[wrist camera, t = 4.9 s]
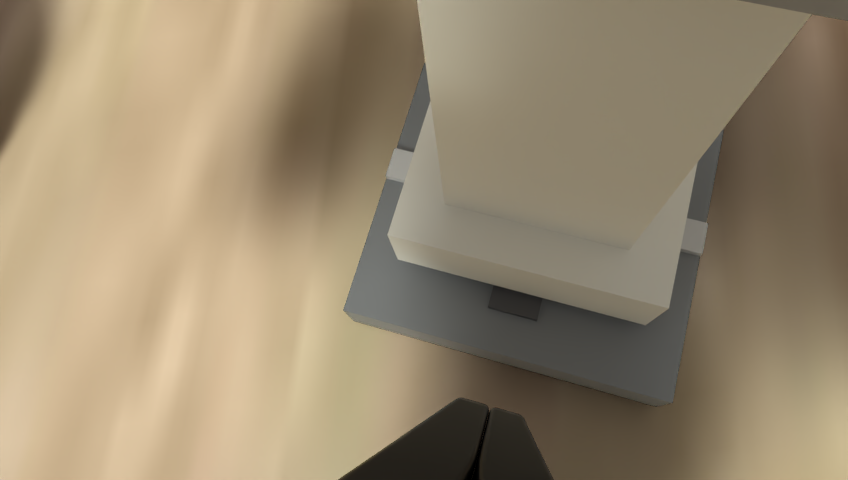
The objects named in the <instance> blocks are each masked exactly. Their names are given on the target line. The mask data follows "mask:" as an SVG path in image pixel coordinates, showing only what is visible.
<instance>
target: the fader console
mask: <svg viewBox="0 0 848 480" xmlns="http://www.w3.org/2000/svg"><path fill="white" fill-rule="evenodd" d="M429 103H430V93H429V86H428V79H427V71H426V64H425V63H424V66H423V69H422V72H421V75H420V78H419V81H418V84H417V87H416V90H415V94H414V97H413V100H412V103H411V106H410V109H409V112H408V115H407V118H406V121H405V124H404V127H403V130H402V133H401V136H400V139H399V142H398V145H397V148H394V151H393V154H392V158H391V161H390V164H389V167H388V170H387V173H386V178H387V179H386V182H385V185H384V188H383V191H382V194H381V197H380V200H379V203H378V206H377V209H376V212H375V215H374V218H373V221H372V224H371V227H370V230H369V233H368V236H367V240H366V243H365V246H364V249H363V252H362V255H361V258H360V261H359V264H358V267H357V270H356V273H355V276H354V279H353V282H352V285H351V288H350V291H349V294H348V297H347V300H346V303H345V306H344V309H343V310H344V311H345V313H346V314H347V315H348V316H349V317H350V318H351V319H352V320H353V321H356V322H359V323H363V324H366V325H370V326H373V327H377V328H380V329H384V330H387V331H391V332H394V333H398V334H401V335H405V336H409V337H412V338H416V339H419V340H423V341H426V342H430V343H433V344H437V345H440V346H444V347H447V348H451V349H454V350H458V351H461V352H465V353H468V354H472V355H475V356H479V357H483V358H486V359H490V360H493V361H497V362H500V363H504V364H507V365H511V366H514V367H518V368H521V369H525V370H528V371H532V372H535V373H539V374H542V375H546V376H550V377H553V378H557V379H560V380H564V381H567V382H571V383H574V384H578V385H581V386H585V387H588V388H592V389H595V390H599V391H602V392H606V393H609V394H613V395H617V396H620V397H624V398H627V399H631V400H634V401H638V402H641V403H645V404H648V405H652V406H655V407H657V406H661V405H666V404H670V403H673V398H674V393H675V387H676V382H677V377H678V371H679V366H680V361H681V355H682V350H683V345H684V339H685V334H686V329H687V323H688V318H689V313H690V307H691V302H692V297H693V291H694V286H695V281H696V275H697V270H698V265H699V259H700V256H701V255H702V254H703V250H704V245H705V239H706V234H707V229H708V223H706V222H707V217H708V212H709V206H710V201H711V196H712V190H713V185H714V180H715V174H716V169H717V164H718V158H719V153H720V148H721V142H722V137H723V132H724V129H723V130H722V131H721V132H720V134H719V135H718V136H717V138H716V139H715V140H714V142H713V143H712V144H711V145H710V147H709V148H708V149H707V151H706V152H705V153H704V154H703V156H702V157H701V158H700V160H699V161H698V163H697V168H696V173H695V179H694V184H693V189H692V194H691V199H690V204H689V209H688V214H687V219H686V224H685V229H684V234H683V240H682V245H681V250H680V255H679V260H678V265H677V270H676V275H675V280H674V285H673V290H672V296H671V301H670V306H669V309H667V310H666V311H665V312H663V313H662V314H661V315H659V316H658V317H656V318H655V319H654V320H652V321H651V322H649V323H648V324H647V325H642V324H639V323H635V322H631V321H627V320H623V319H620V318H616V317H612V316H608V315H605V314H601V313H597V312H593V311H590V310H586V309H582V308H578V307H575V306H571V305H567V304H563V303H560V302H556V301H552V300H548V299H545V298H541V297H537V296H533V295H530V294H526V293H522V292H518V291H514V290H511V289H507V288H503V287H499V286H496V285H492V284H488V283H484V282H481V281H477V280H473V279H469V278H466V277H462V276H458V275H454V274H451V273H447V272H443V271H439V270H436V269H432V268H428V267H424V266H421V265H417V264H413V263H409V262H405V261H402V260H398V259H397V256H396V254H395V252H394V249H393V247H392V245H391V242H390V240H389V238H388V235H387V234H388V231H389V228H390V225H391V222H392V219H393V216H394V213H395V210H396V206H397V203H398V200H399V197H400V194H401V191H402V188H403V185H404V181H405V178H406V175H407V172H408V169H409V166H410V163H411V160H412V156H413V153H414V150H415V147H416V144H417V141H418V138H419V135H420V132H421V128H422V125H423V122H424V119H425V116H426V113H427V110H428V107H429Z"/></svg>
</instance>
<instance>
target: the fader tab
mask: <svg viewBox="0 0 848 480" xmlns="http://www.w3.org/2000/svg"><path fill="white" fill-rule="evenodd" d="M417 5H418V13H419V20H420V27H421V35H422V42H423V49H424V57H425V64H426V71H427V79H428V86H429V93H430V103H429V107H428V110H427V113H426V116H425V119H424V122H423V125H422V128H421V132H420V135H419V138H418V141H417V144H416V147H415V150H414V153H413V156H412V160H411V163H410V166H409V169H408V172H407V175H406V178H405V181H404V185H403V188H402V191H401V194H400V197H399V200H398V203H397V206H396V210H395V213H394V216H393V219H392V222H391V225H390V228H389V231H388V234H387V235H388V238H389V240H390V242H391V245H392V247H393V249H394V252H395V254H396V256H397V259H398V260H402V261H405V262H409V263H413V264H417V265H421V266H424V267H428V268H432V269H436V270H439V271H443V272H447V273H451V274H454V275H458V276H462V277H466V278H469V279H473V280H477V281H481V282H484V283H488V284H492V285H496V286H499V287H503V288H507V289H511V290H514V291H518V292H522V293H526V294H530V295H533V296H537V297H541V298H545V299H548V300H552V301H556V302H560V303H563V304H567V305H571V306H575V307H578V308H582V309H586V310H590V311H593V312H597V313H601V314H605V315H608V316H612V317H616V318H620V319H623V320H627V321H631V322H635V323H639V324H642V325H647V324H648V323H649V322H651V321H652V320H654V319H655V318H656V317H658V316H659V315H661V314H662V313H663V312H665V311H666V310H667V309H669V306H670V301H671V296H672V290H673V285H674V280H675V275H676V270H677V265H678V260H679V255H680V250H681V245H682V240H683V234H684V229H685V224H686V219H687V214H688V209H689V204H690V199H691V194H692V189H693V184H694V179H695V173H696V168H697V163H698V161H699V160H700V158H701V157H702V156H703V154H704V153H705V152H706V151H707V149H708V148H709V147H710V145H711V144H712V143H713V142H714V140H715V139H716V138H717V136H718V135H719V134H720V132H721V131H722V130H723V129H724V127H725V126H726V125H727V123H728V122H729V121H730V120H731V118H732V117H733V116H734V114H735V113H736V112H737V111H738V109H739V108H740V107H741V105H742V104H743V103H744V102H745V100H746V99H747V98H748V96H749V95H750V94H751V92H752V91H753V90H754V89H755V87H756V86H757V85H758V83H759V82H760V81H761V80H762V78H763V77H764V76H765V74H766V73H767V72H768V71H769V69H770V68H771V67H772V65H773V64H774V63H775V62H776V60H777V59H778V58H779V56H780V55H781V54H782V53H783V51H784V50H785V49H786V47H787V46H788V45H789V43H790V42H791V41H792V40H793V38H794V37H795V36H796V34H797V33H798V32H799V31H800V29H801V28H802V27H803V25H804V24H805V23H806V22H807V20H808V19H809V18H810V16H811V15H812V14H813V15H819V16H824V17H829V18H835V19H840V20H845V21H848V0H417Z"/></svg>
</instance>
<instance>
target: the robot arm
mask: <svg viewBox="0 0 848 480" xmlns="http://www.w3.org/2000/svg"><path fill="white" fill-rule="evenodd" d="M488 414H489V415H488ZM487 417H488V419H487ZM486 421H487V423H486ZM485 425H486V427H485ZM484 429H485V430H484ZM483 433H484V434H483ZM482 437H483V438H482ZM481 441H482V442H481ZM480 445H481V446H480ZM479 449H480V450H479ZM474 468H475V469H474ZM473 472H474V473H473ZM472 476H473V477H472ZM338 480H553V478H552V476H551V473H550V471H549V469H548V467H547V465H546V463H545V461H544V459H543V457H542V455H541V453H540V451H539V449H538V447H537V445H536V443H535V441H534V438H533V436H532V434H531V432H530V430H529V428H528V426H527V424H526V422H525V420H524V418H523V417H522V416H521V415H519V414H516V413H513V412H509V411H506V410H503V409H499V408H492V409H491V410H490V412H489V408H488V407H487V405H485V404H482V403H479V402H475V401H472V400H469V399H465V398H458V399H456V400H454V401H453V402H451V403H450V404H448V405H447V406H445V407H444V408H442V409H441V410H440V411H438V412H437V413H435V414H434V415H432V416H431V417H429V418H428V419H426V420H425V421H423V422H422V423H420V424H419V425H418V426H416V427H415V428H413V429H412V430H410V431H409V432H407V433H406V434H404V435H403V436H401V437H400V438H398V439H397V440H396V441H394V442H393V443H391V444H390V445H388V446H387V447H385V448H384V449H382V450H381V451H379V452H378V453H376V454H375V455H374V456H372V457H371V458H369V459H368V460H366V461H365V462H363V463H362V464H360V465H359V466H357V467H356V468H354V469H353V470H351V471H350V472H349V473H347V474H346V475H344V476H343V477H341V478H340V479H338Z"/></svg>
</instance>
